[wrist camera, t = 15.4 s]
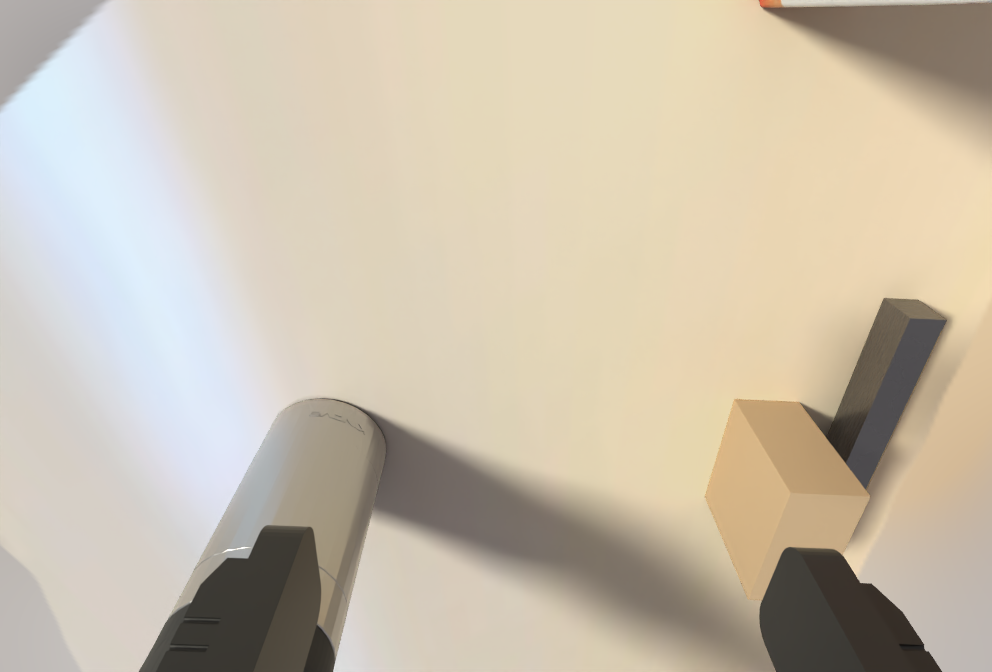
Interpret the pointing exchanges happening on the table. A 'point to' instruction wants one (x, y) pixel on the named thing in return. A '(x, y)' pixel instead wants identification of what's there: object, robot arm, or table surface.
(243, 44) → the table surface
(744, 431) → the carton
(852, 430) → the rail
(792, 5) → the cracker box
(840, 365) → the table surface
